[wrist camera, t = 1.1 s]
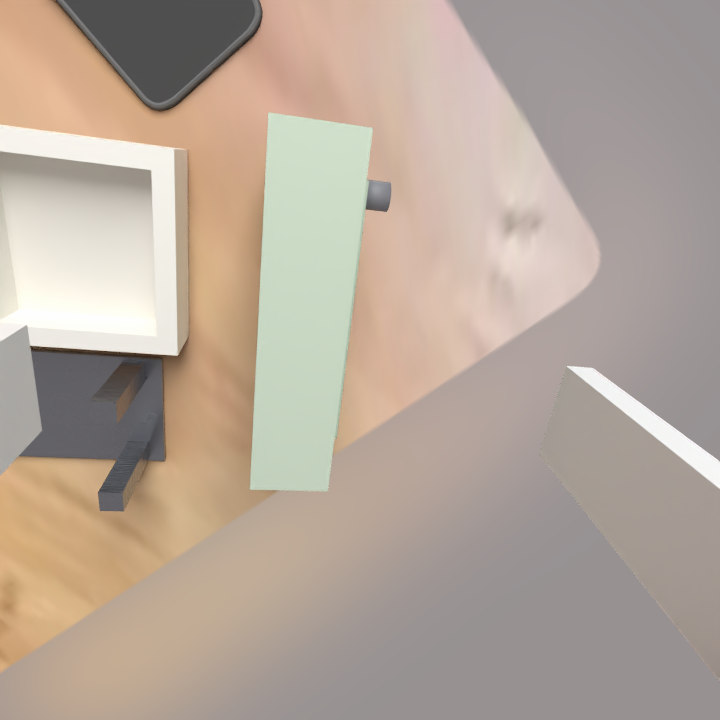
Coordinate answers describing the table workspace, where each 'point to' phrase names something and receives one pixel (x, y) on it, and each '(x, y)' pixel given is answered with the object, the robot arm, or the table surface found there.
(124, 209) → the white divided tray
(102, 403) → the grey four-post stand
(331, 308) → the door panel
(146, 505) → the table surface
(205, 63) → the smartphone
